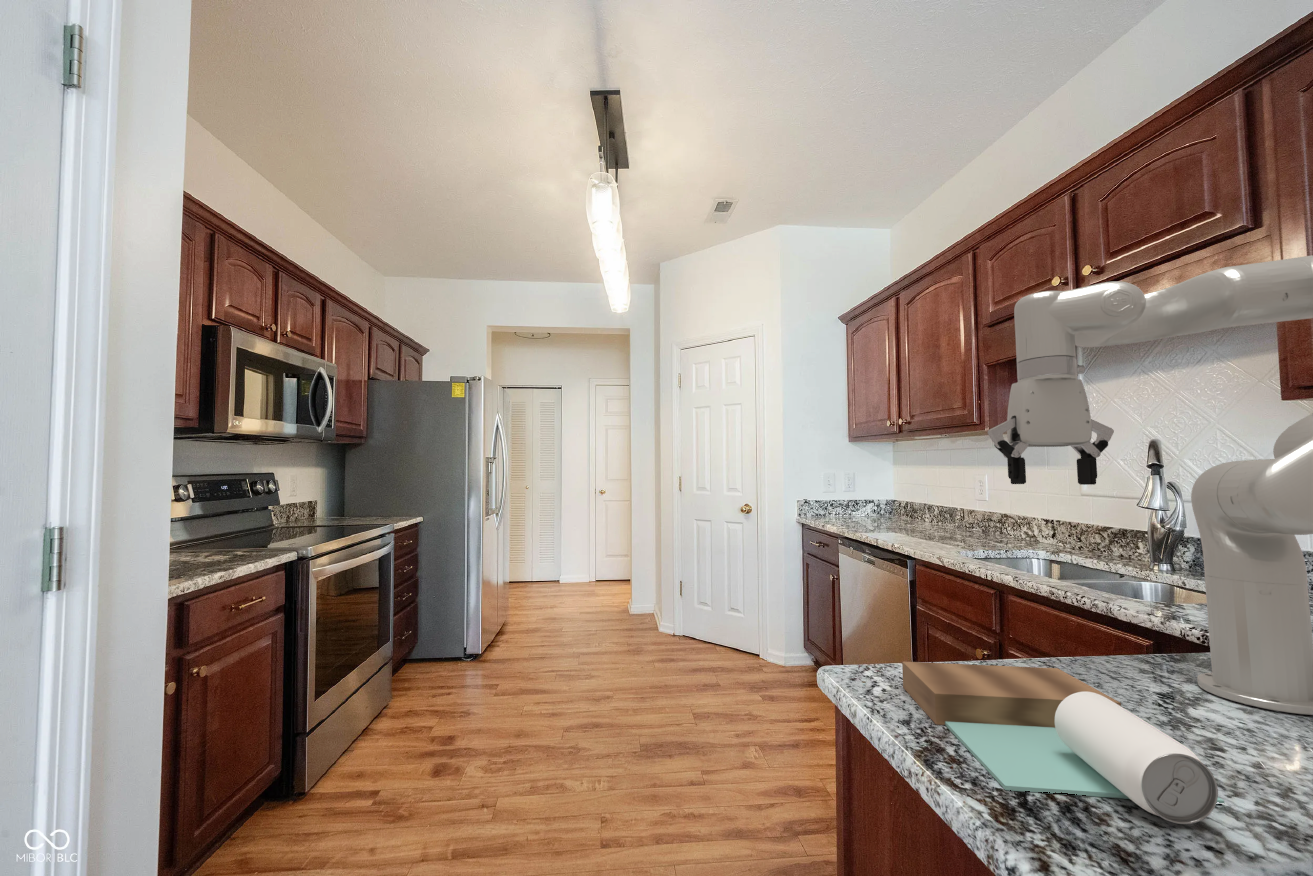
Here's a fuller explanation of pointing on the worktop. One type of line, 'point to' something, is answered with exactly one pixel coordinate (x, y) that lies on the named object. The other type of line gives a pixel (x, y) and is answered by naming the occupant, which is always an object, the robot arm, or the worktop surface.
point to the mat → (1032, 760)
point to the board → (990, 692)
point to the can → (1137, 758)
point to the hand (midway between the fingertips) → (1052, 484)
